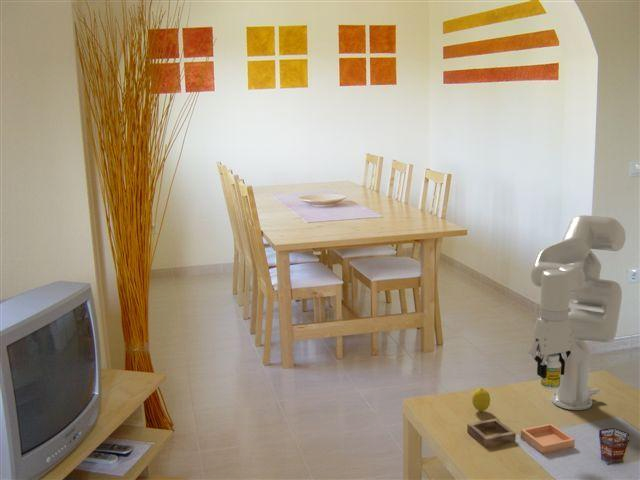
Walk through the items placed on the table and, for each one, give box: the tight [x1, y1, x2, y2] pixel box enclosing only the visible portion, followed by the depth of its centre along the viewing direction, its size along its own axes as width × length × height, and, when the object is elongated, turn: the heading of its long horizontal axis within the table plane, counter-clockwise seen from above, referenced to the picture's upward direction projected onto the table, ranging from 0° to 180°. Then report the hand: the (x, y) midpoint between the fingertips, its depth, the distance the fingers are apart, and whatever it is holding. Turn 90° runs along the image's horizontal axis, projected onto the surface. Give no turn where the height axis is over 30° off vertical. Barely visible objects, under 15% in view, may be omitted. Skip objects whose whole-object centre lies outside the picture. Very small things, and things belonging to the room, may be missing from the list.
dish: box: [520, 422, 575, 455], centre depth 201 cm, size 11×11×2 cm
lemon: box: [471, 387, 491, 413], centre depth 221 cm, size 6×6×8 cm
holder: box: [466, 418, 517, 448], centre depth 205 cm, size 10×10×2 cm
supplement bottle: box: [540, 354, 561, 390], centre depth 197 cm, size 5×5×10 cm
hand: (550, 374), depth 197 cm, fingers closed on supplement bottle, 5 cm apart
